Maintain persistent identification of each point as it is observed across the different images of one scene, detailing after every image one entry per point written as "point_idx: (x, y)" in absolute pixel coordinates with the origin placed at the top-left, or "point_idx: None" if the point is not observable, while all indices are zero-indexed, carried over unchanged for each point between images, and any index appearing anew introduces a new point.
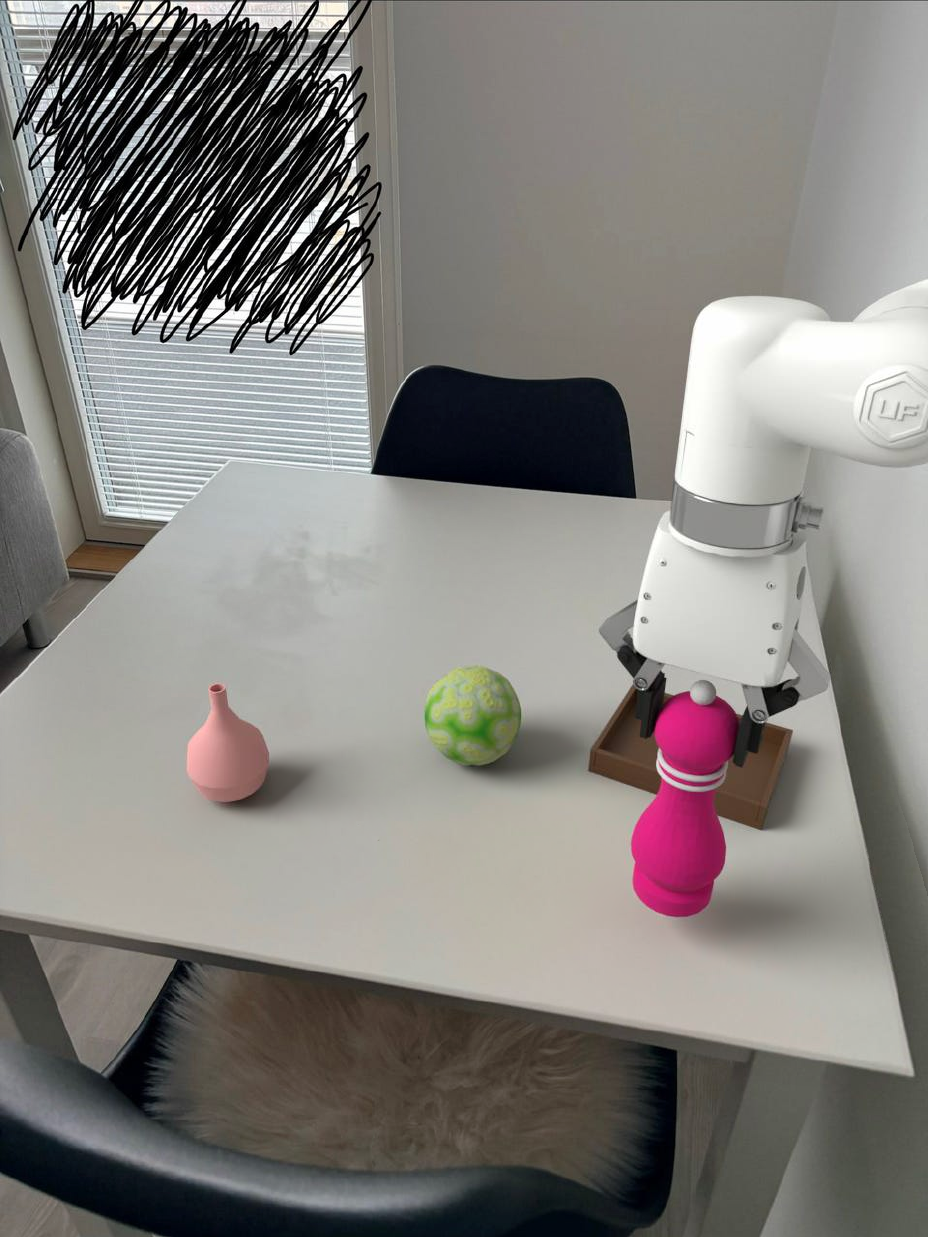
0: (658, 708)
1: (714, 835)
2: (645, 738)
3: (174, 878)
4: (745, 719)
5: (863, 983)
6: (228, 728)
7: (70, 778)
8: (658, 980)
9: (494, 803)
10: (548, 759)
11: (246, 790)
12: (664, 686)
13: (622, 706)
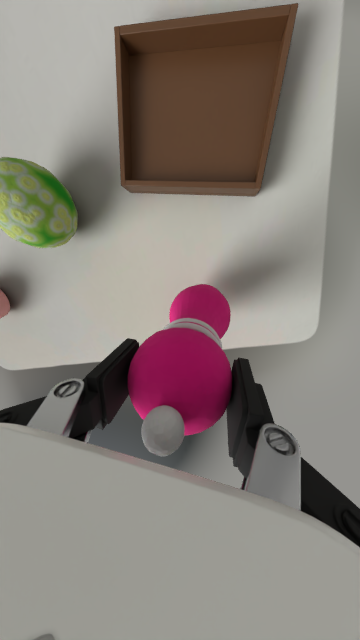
0: (126, 373)
1: (220, 335)
2: None
3: (29, 347)
4: (236, 462)
5: (308, 302)
6: None
7: None
8: None
9: (98, 254)
10: (104, 193)
11: (5, 310)
12: (111, 376)
13: (120, 92)
